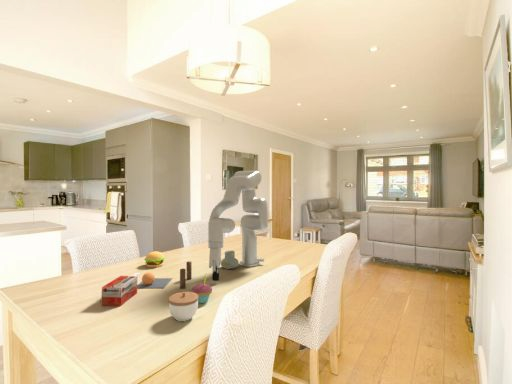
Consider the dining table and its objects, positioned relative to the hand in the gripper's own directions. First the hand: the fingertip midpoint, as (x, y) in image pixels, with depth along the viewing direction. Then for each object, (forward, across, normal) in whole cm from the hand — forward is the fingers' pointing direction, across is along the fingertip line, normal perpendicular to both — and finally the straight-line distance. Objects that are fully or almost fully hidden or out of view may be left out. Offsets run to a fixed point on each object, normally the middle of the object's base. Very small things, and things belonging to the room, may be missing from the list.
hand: (215, 280), depth 138 cm
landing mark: (+2, 0, -31) cm, 31 cm away
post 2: (+2, -6, -15) cm, 16 cm away
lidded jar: (+2, +37, -7) cm, 38 cm away
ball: (-2, +2, -33) cm, 33 cm away
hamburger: (+2, -32, -42) cm, 53 cm away
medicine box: (+2, +20, -39) cm, 43 cm away
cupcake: (+2, +22, -3) cm, 22 cm away
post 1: (+2, +6, -15) cm, 16 cm away
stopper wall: (+2, 0, -43) cm, 43 cm away
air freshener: (+2, -27, +5) cm, 28 cm away
